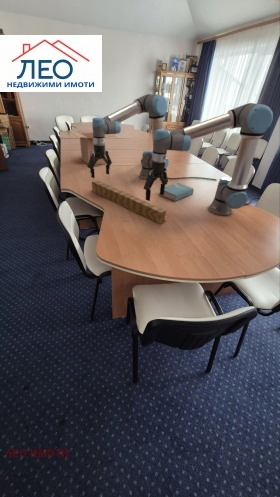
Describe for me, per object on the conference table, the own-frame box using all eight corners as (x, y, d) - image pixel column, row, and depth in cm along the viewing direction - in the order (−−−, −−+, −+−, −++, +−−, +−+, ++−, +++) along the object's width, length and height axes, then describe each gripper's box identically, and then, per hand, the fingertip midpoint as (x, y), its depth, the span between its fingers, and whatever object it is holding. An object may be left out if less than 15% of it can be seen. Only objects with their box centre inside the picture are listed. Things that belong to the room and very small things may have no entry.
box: (116, 165, 229) (116, 136, 213) (83, 168, 214) (80, 137, 198) (102, 154, 259) (101, 128, 243) (71, 156, 244) (68, 129, 228)
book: (176, 188, 187) (177, 182, 184) (192, 194, 178) (193, 188, 175) (159, 194, 174) (160, 188, 171) (175, 201, 165) (176, 195, 162)
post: (92, 191, 172) (91, 181, 167) (97, 189, 175) (96, 180, 171) (159, 223, 138) (161, 212, 133) (164, 221, 141) (166, 210, 136)
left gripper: (87, 147, 139) (89, 180, 152) (116, 143, 155) (116, 173, 167) (80, 145, 143) (83, 177, 155) (109, 141, 158) (110, 171, 171)
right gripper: (149, 166, 112) (146, 204, 125) (177, 159, 128) (171, 193, 141) (138, 163, 116) (136, 200, 129) (166, 156, 132) (162, 190, 144)
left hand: (100, 175), depth 161 cm, fingers open, 13 cm apart
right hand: (154, 197), depth 135 cm, fingers open, 13 cm apart
